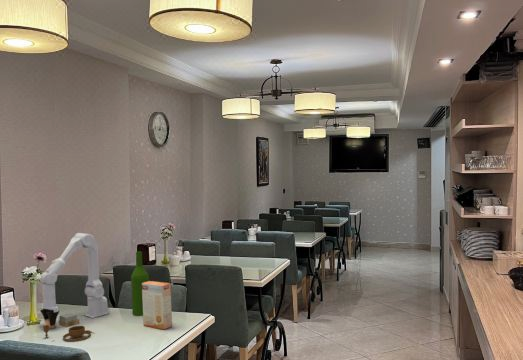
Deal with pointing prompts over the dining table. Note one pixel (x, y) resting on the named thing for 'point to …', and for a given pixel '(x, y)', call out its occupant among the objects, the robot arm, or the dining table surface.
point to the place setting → (72, 333)
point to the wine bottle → (138, 285)
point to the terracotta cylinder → (48, 323)
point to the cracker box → (157, 304)
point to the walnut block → (69, 323)
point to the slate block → (68, 317)
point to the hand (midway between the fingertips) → (50, 324)
